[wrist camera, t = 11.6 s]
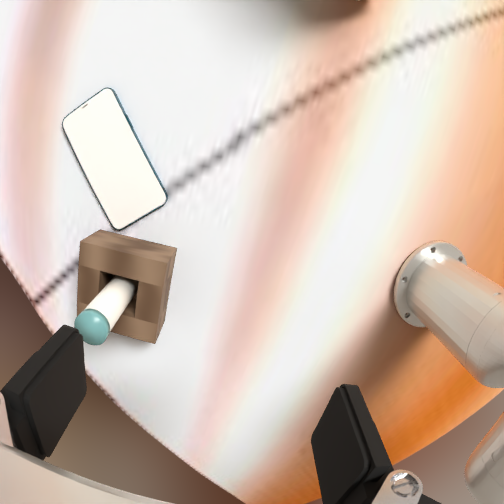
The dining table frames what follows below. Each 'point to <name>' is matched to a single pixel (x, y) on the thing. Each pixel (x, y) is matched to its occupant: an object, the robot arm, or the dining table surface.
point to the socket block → (133, 267)
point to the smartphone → (113, 159)
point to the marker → (105, 310)
